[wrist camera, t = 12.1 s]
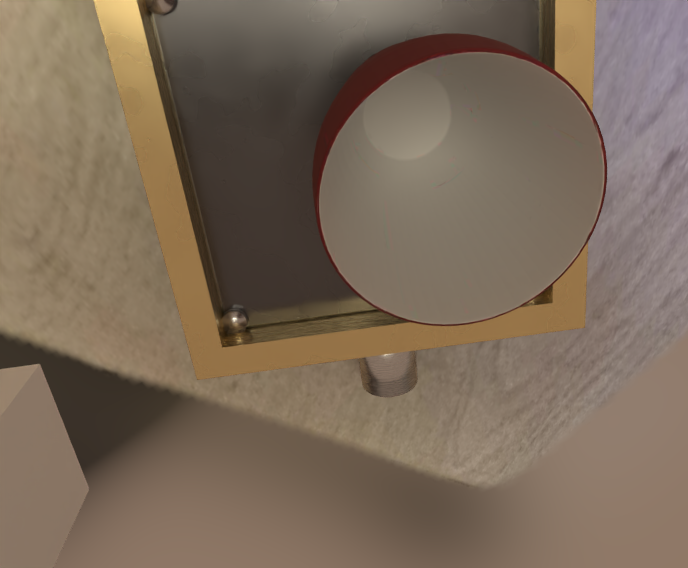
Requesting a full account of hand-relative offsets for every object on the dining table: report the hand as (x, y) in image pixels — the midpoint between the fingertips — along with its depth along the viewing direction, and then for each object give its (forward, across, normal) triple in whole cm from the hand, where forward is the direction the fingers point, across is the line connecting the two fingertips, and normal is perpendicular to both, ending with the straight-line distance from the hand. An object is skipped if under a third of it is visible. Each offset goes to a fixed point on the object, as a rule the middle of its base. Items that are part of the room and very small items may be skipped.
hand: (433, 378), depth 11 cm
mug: (+18, +2, 0) cm, 18 cm away
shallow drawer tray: (+21, 0, -2) cm, 22 cm away
